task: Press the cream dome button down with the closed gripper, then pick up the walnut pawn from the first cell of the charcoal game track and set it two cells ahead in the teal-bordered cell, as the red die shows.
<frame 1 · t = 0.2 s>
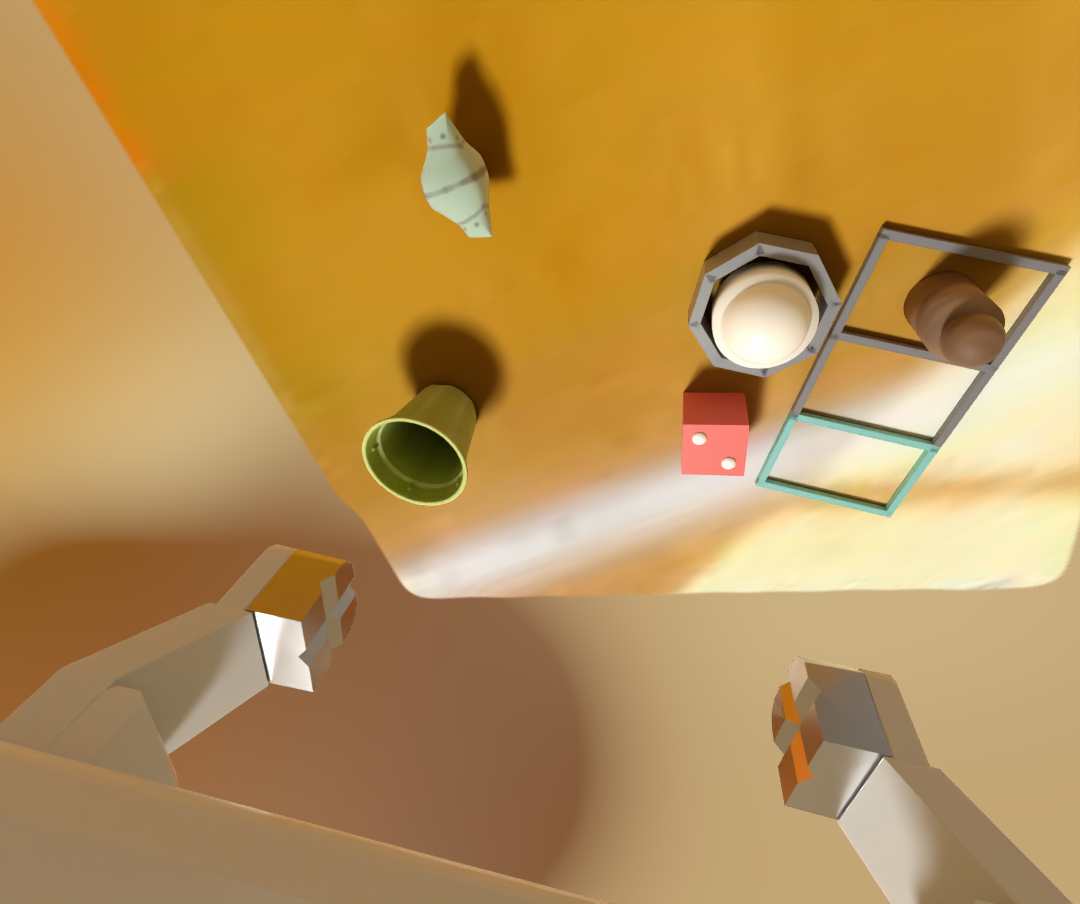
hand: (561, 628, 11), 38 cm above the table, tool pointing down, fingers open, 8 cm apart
pawn: (938, 301, 42), resting in game track
red die: (712, 417, 51), on the table
robot head: (473, 168, 43), on the table
dome housing: (758, 299, 44), on the table
plant pot: (447, 409, 57), on the table
dome: (763, 321, 41), point 4 cm above the table, slide at 0.0 cm
game track: (885, 390, 47), on the table
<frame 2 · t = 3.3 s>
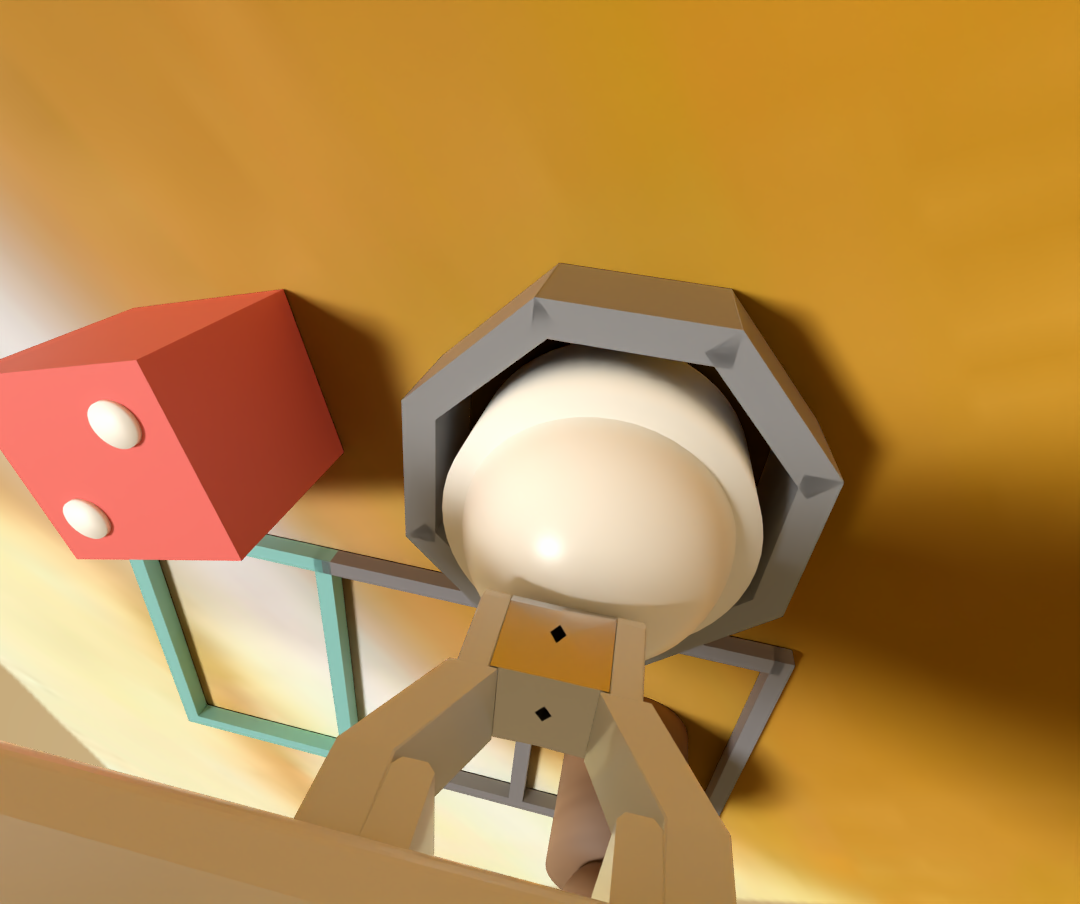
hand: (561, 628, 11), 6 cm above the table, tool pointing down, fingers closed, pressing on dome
pawn: (627, 731, 22), resting in game track
red die: (242, 382, 17), on the table
dome housing: (610, 451, 16), on the table
dome: (596, 526, 13), point 3 cm above the table, slide at 0.7 cm, touching gripper
game track: (435, 685, 23), on the table
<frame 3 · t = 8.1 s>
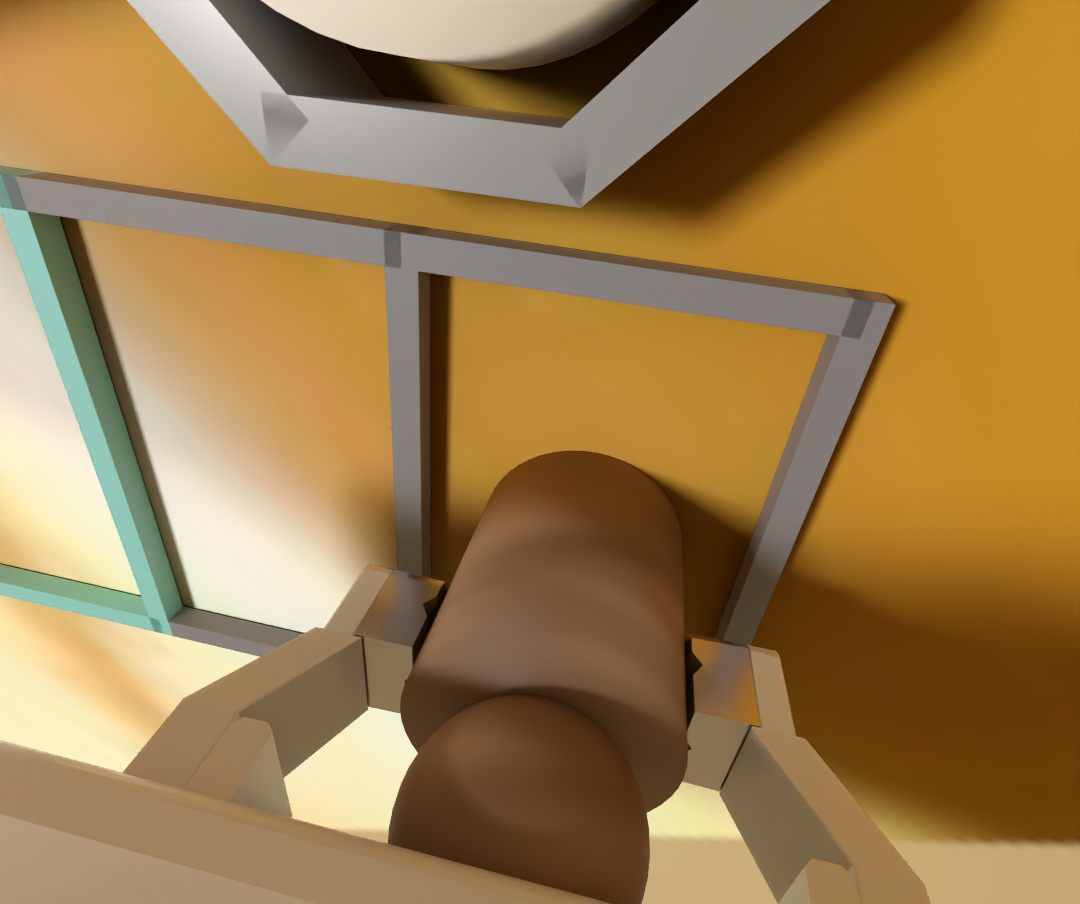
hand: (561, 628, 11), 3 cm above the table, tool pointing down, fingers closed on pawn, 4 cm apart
pawn: (580, 536, 13), resting in game track, touching gripper
game track: (265, 473, 14), on the table
when the fingers open (4 cm above the table, at t = 14.2 s): pawn drops 1 cm, resting in game track.
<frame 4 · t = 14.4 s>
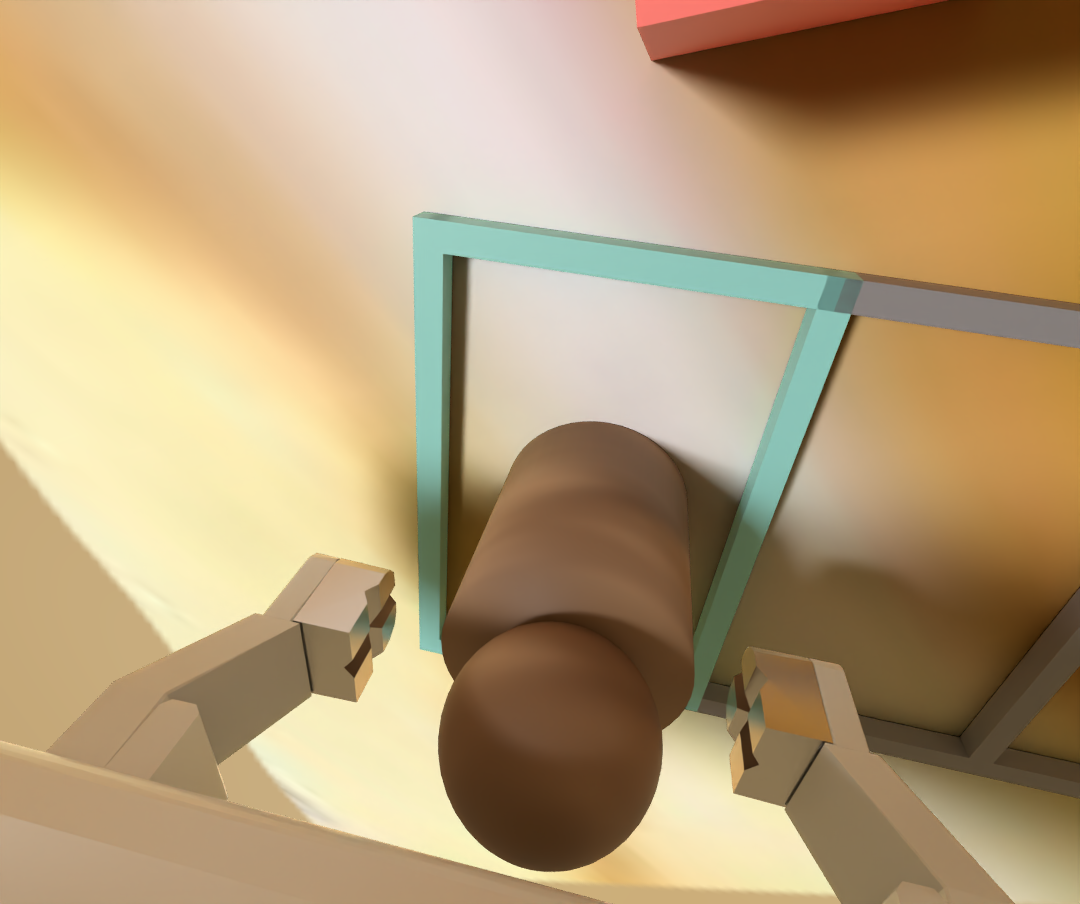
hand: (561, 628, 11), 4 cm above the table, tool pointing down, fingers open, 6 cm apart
pawn: (594, 501, 14), resting in game track
game track: (911, 561, 13), on the table
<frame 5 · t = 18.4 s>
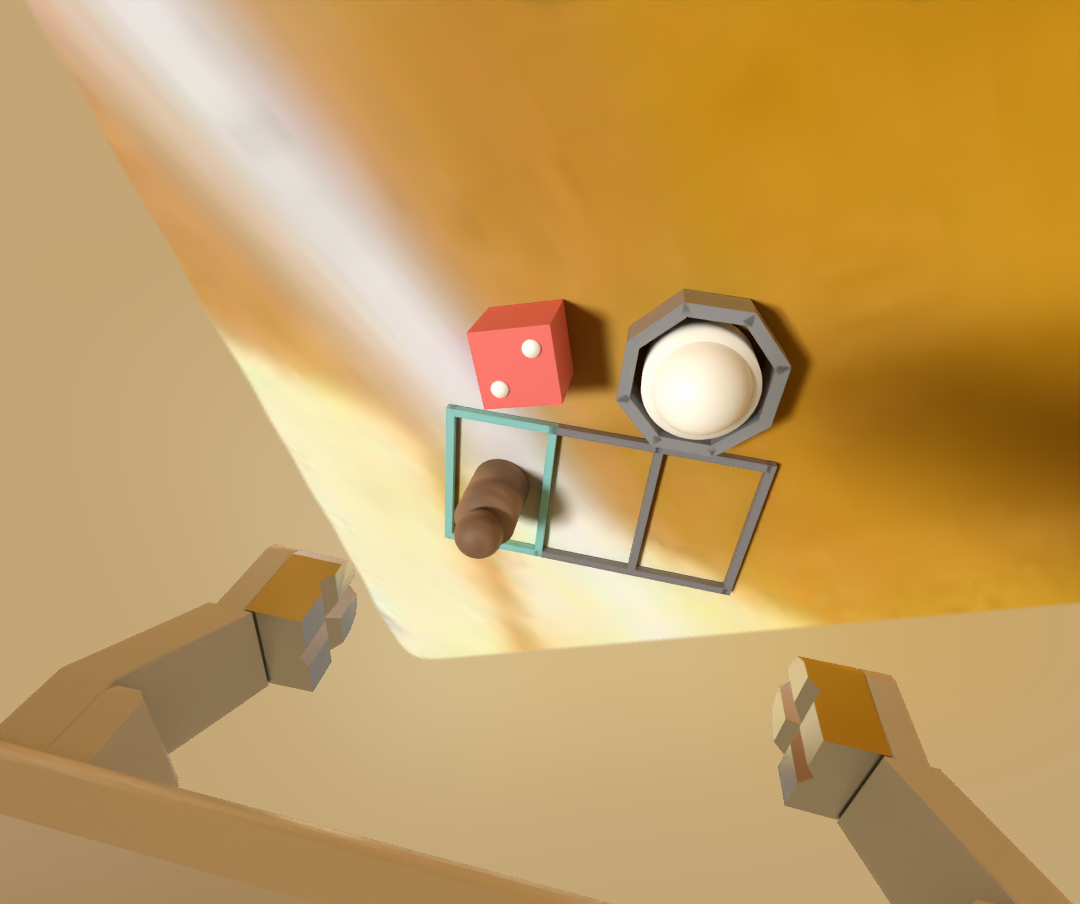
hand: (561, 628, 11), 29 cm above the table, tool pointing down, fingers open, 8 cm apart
pawn: (501, 483, 46), resting in game track
red die: (532, 340, 39), on the table
dome housing: (698, 367, 38), on the table
dome: (699, 385, 35), point 3 cm above the table, slide at 1.0 cm
game track: (594, 501, 45), on the table
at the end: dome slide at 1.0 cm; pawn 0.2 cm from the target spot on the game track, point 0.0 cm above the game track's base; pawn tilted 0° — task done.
